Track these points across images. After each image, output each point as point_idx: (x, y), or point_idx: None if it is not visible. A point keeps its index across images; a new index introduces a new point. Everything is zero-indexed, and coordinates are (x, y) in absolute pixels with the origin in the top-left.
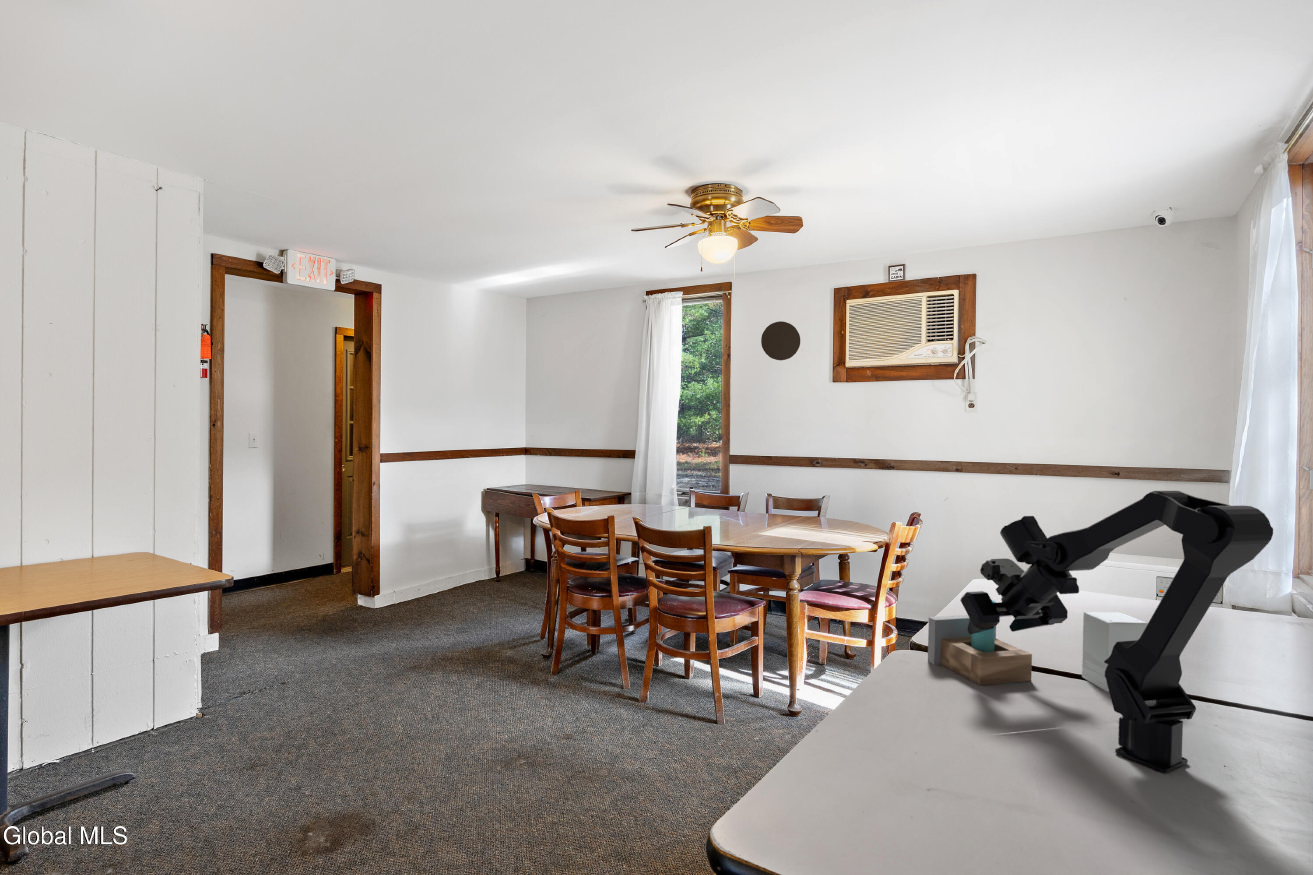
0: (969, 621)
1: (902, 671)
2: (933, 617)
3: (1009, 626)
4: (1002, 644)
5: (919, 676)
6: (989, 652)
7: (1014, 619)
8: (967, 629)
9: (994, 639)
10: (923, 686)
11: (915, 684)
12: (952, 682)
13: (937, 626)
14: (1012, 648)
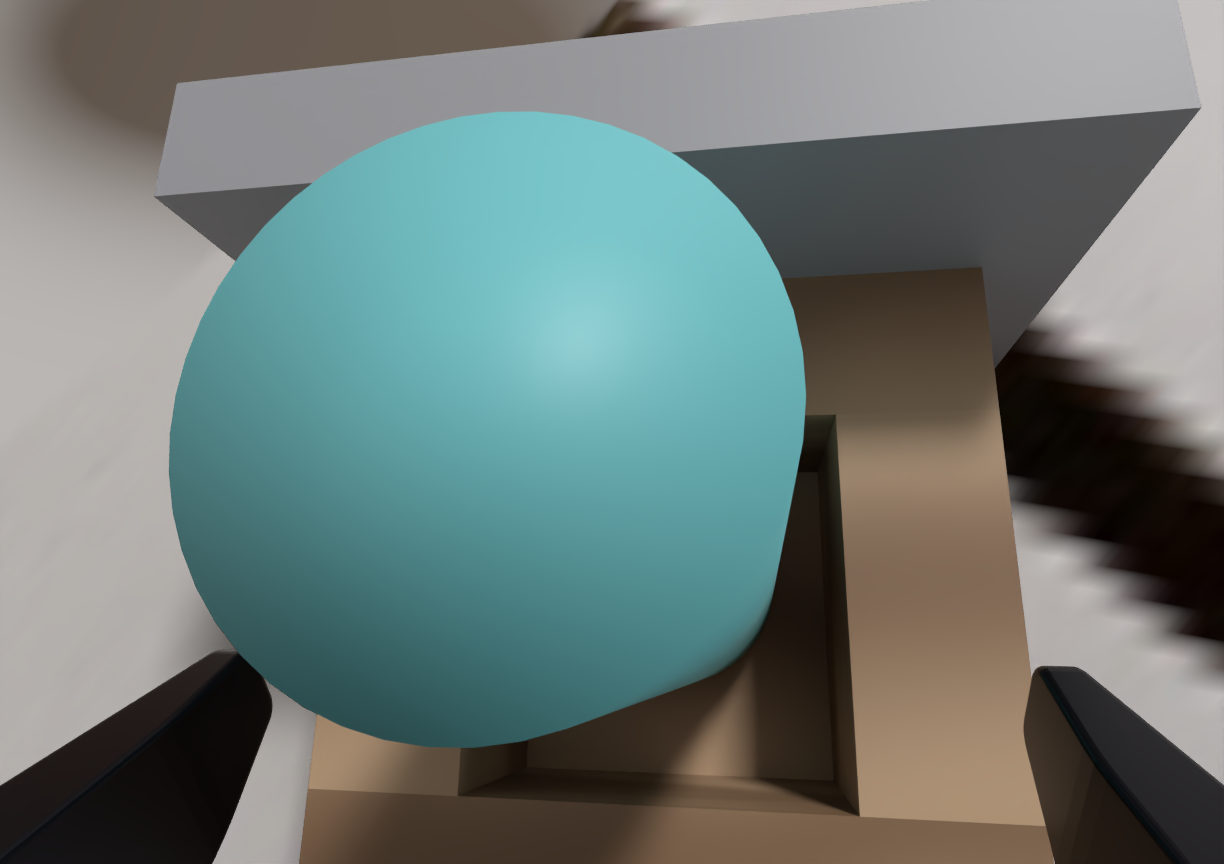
0: (5, 792)
1: (117, 458)
2: (217, 100)
3: (1038, 675)
4: (921, 582)
5: (152, 569)
6: (535, 816)
7: (1140, 827)
8: (220, 652)
9: (727, 661)
10: (33, 756)
11: (13, 705)
12: (285, 737)
13: (239, 240)
14: (947, 752)
